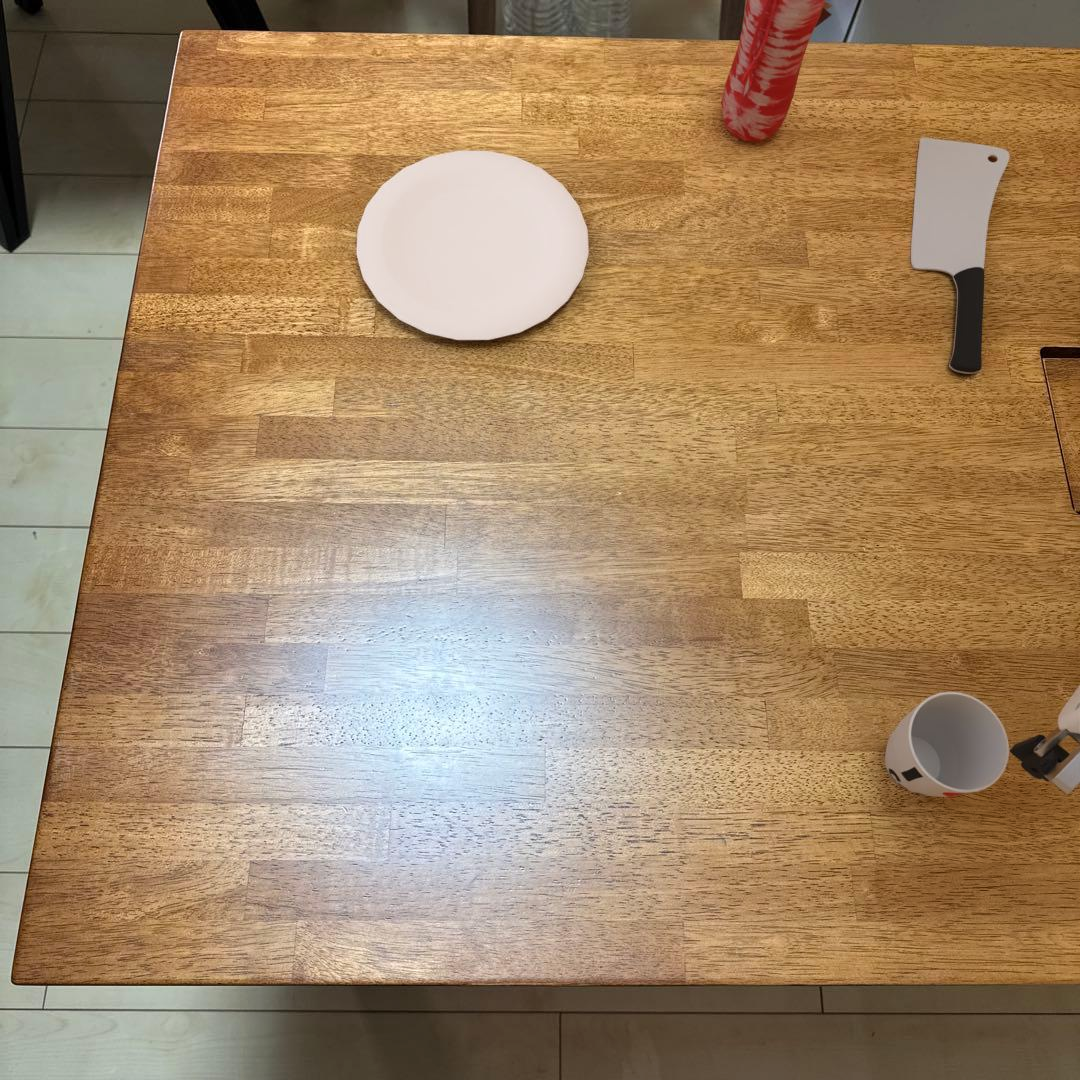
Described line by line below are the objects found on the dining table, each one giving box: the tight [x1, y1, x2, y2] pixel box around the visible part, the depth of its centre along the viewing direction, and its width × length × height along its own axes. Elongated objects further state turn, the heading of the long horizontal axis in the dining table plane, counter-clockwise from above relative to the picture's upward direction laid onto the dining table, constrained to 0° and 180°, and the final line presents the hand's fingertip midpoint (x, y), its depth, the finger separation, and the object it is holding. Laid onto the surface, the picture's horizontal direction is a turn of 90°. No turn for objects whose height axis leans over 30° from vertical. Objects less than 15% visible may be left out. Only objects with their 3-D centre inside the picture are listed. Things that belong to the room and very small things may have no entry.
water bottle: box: [720, 0, 833, 143], centre depth 107 cm, size 12×8×25 cm, turn 140°
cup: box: [884, 691, 1010, 798], centre depth 87 cm, size 8×8×10 cm
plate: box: [355, 150, 590, 342], centre depth 110 cm, size 25×25×2 cm
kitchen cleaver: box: [910, 137, 1011, 377], centre depth 112 cm, size 31×2×10 cm
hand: (1067, 712), depth 72 cm, fingers open, 9 cm apart
